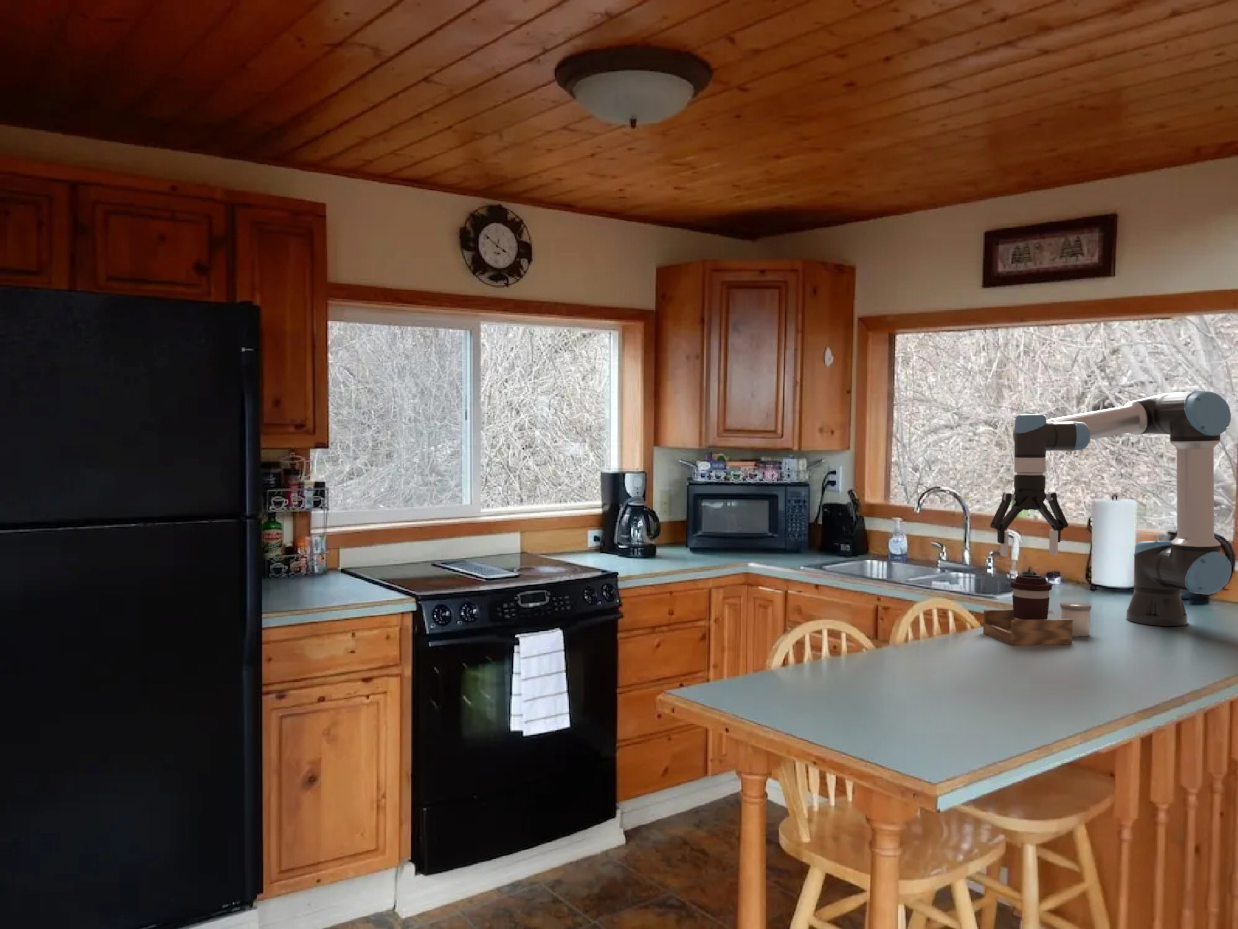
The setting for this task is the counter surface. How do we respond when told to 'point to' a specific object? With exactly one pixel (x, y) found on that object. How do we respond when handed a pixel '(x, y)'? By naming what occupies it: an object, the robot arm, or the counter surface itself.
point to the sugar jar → (1077, 617)
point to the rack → (1026, 629)
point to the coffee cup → (1030, 597)
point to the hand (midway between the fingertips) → (1028, 555)
